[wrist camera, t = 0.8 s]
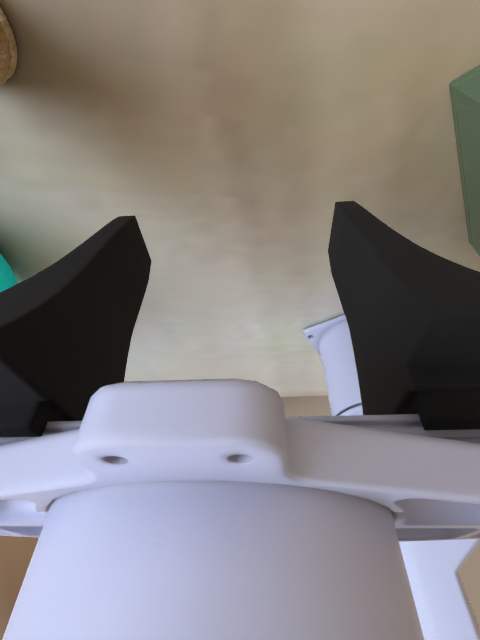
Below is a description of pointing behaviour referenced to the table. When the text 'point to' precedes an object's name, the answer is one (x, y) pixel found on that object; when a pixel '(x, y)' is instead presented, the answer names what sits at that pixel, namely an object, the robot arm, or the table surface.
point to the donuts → (6, 275)
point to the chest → (469, 146)
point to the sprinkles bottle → (7, 50)
